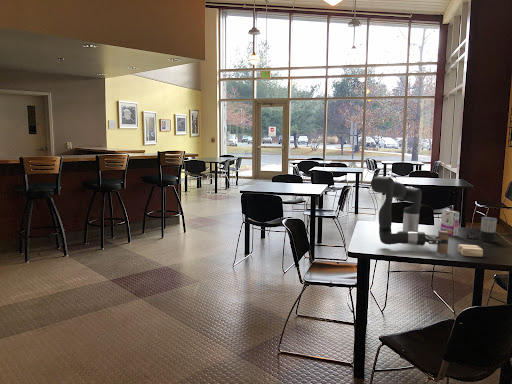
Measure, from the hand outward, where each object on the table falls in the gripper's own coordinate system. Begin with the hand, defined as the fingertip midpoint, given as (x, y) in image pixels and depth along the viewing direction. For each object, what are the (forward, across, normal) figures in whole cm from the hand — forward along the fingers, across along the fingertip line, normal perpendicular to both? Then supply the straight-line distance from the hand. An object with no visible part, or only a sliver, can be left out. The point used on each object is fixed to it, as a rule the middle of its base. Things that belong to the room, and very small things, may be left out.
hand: (445, 240), depth 235 cm
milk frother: (+32, +43, +7) cm, 54 cm away
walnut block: (-1, 0, +7) cm, 7 cm away
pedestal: (+14, +1, +7) cm, 15 cm away
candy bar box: (+15, +53, +7) cm, 56 cm away
